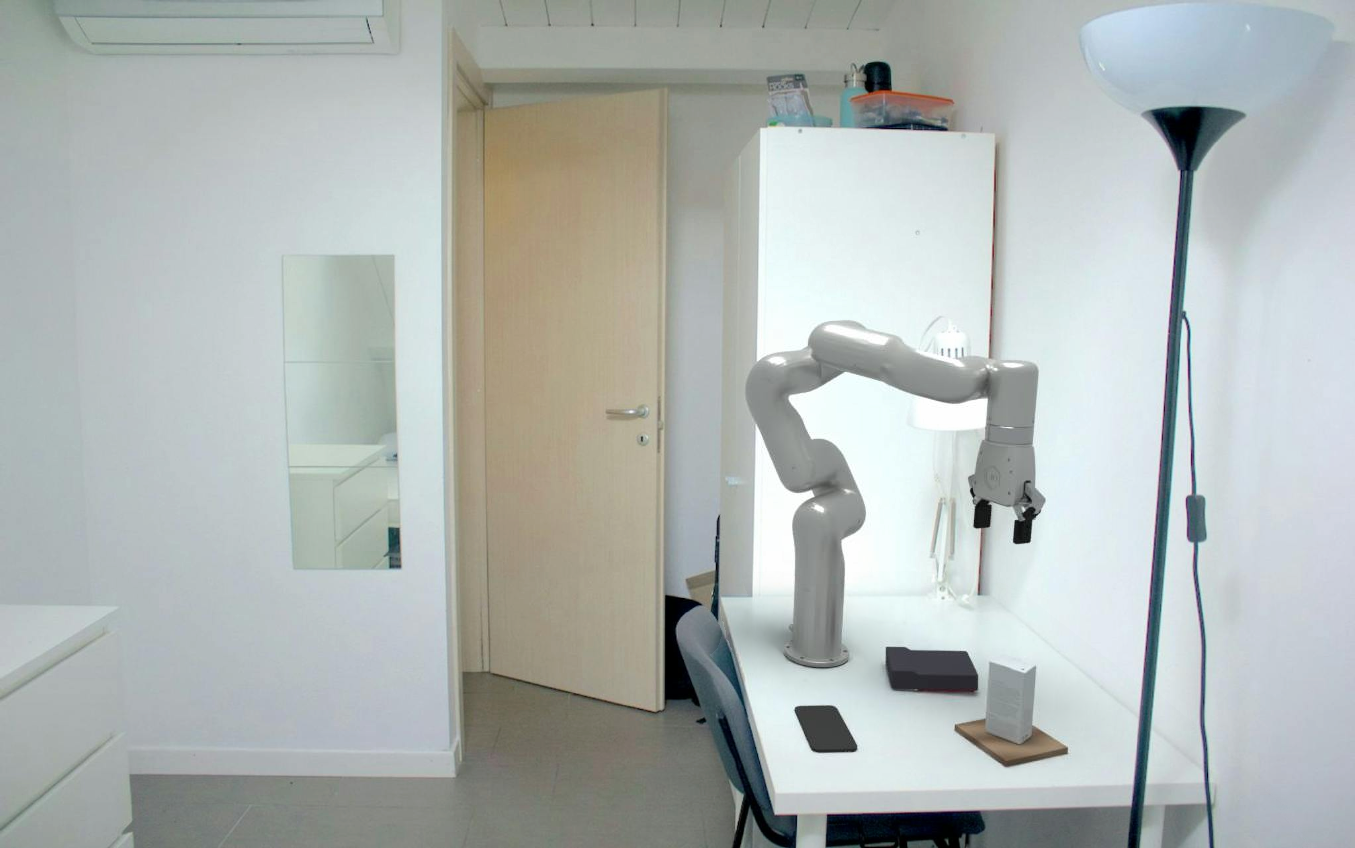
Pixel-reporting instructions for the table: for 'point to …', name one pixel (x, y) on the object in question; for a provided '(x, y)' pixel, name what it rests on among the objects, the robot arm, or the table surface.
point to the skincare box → (1010, 699)
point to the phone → (825, 729)
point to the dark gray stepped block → (931, 670)
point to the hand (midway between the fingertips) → (1001, 535)
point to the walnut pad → (1011, 744)
